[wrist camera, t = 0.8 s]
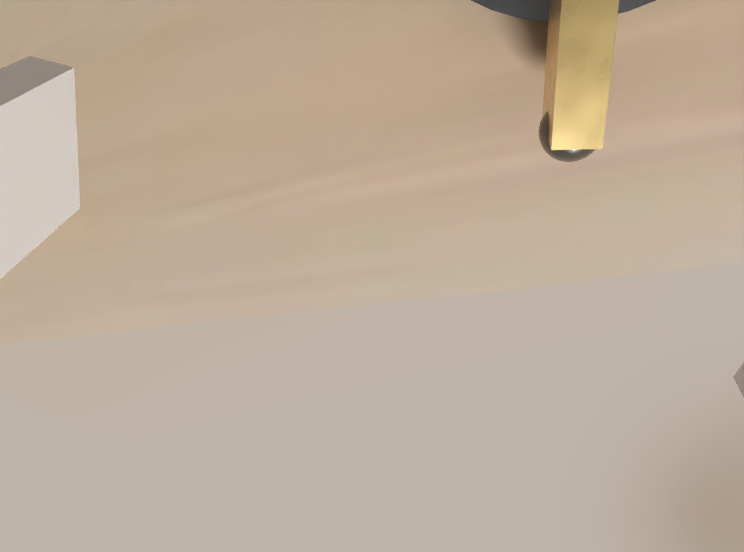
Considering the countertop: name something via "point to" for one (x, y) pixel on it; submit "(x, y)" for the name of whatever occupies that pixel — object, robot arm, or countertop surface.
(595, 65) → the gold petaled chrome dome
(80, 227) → the countertop surface
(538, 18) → the base
